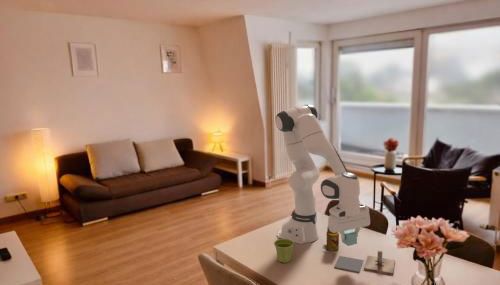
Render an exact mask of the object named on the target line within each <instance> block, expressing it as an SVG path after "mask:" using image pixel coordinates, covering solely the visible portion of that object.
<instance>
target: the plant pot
mask: <svg viewBox="0 0 500 285" xmlns="http://www.w3.org/2000/svg"><path fill="white" fill-rule="evenodd" d="M294 244H295V242H293V241H292V240H289V239H281V238H278V239H277V240H275V241H274V242H273V245H274V247H275V250H276V256H277V261H278V262H279V263H283V264H284V263H290V262H291V260H292V251H293V248H294Z"/></svg>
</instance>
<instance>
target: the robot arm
mask: <svg viewBox="0 0 500 285" xmlns="http://www.w3.org/2000/svg"><path fill="white" fill-rule="evenodd" d="M318 117H319V116H318V111H317V109H316V107H315V106H314V105H312V104H304V105H299V106H293V107H292V108H289V109H286V110H282V111H280V112H278V113H276V116H275V125H276V127H277V128H278V131H280V132H282V133H283V139H284V144H285V148H286V153H287V157H288V159H289V160H290V161H291V162H292V164H293V165H294V168H295V171H293V173H291V174H290V176H289V179H288V185H289V187H290V188H291V190H292V193H293V197H294V198H293V199H294V209H293V210H292V212H291V213H290V218H288V219H287V220H285V221H284V222H283V223H282V225H281V228H280V229H279V230H278V232H277V234H276V235H277V238H278V239H289V240H292V241H293V242H294V243H296V244H299V245H301V244H306V243H311V242H315V241H317V240H318V239H319V237H320V236H319V232H318V229H317V228H318V227H317V217H318V216H317V215H318V214H317V211H316V207H317V206H316V203H317V202H316V201H317V200H316V197H315V195H314V192H313V185H314V184H315V183H316V182H317V181H318V180H319V178H320V176H321V172H320V169H319V167H318V166H316V164H315V162H314V160H313V158H312V157H311V155H314V156H319V157H322V158H324V159H325V160H326V161H327V162H328V165H329V166H330V167H331V170H332V172H333V174H334V176H330V177H328V178H325V179H323V180H322V181H321V183H320V191H321V194H322V195H323V197H324V198H326V199H329V200H330V199H331V200H338V201H339V202H338V204H336V205H334V206H333V207H331V208H329V211H328V212H329V216H328V218H327V219H328V221H327V227H328V229H329V230H330V231H331V232H332V233H336V232H339V235H340V238H341V240H342V239H343V240H345V239H346V235H344V234H343V233H344V231H346V230H354V229H355V230H354V232H356V233H357V238H358V237H359V232H360V231H361V228H364V227H368V226H370V224H371V217H370V208H369V207H368V206H367V205H363V206H361V204H360V203H361V202H360V194H361V192H360V188H361V187H360V180H359V177H358V175H356V174H355V173H354V172H349V170H348V169H347V167H346V165H345V164H344V161H343V159H342V158H341V156H340V154H339V153H338V151H337V149H336V148H335V146H334V145H333V144H332V143H331V142H330V141H329V140H328V138H327V136H326V134H325V132H324V129H323V128H322V126H321V124H320V121H319V120H318Z"/></svg>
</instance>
